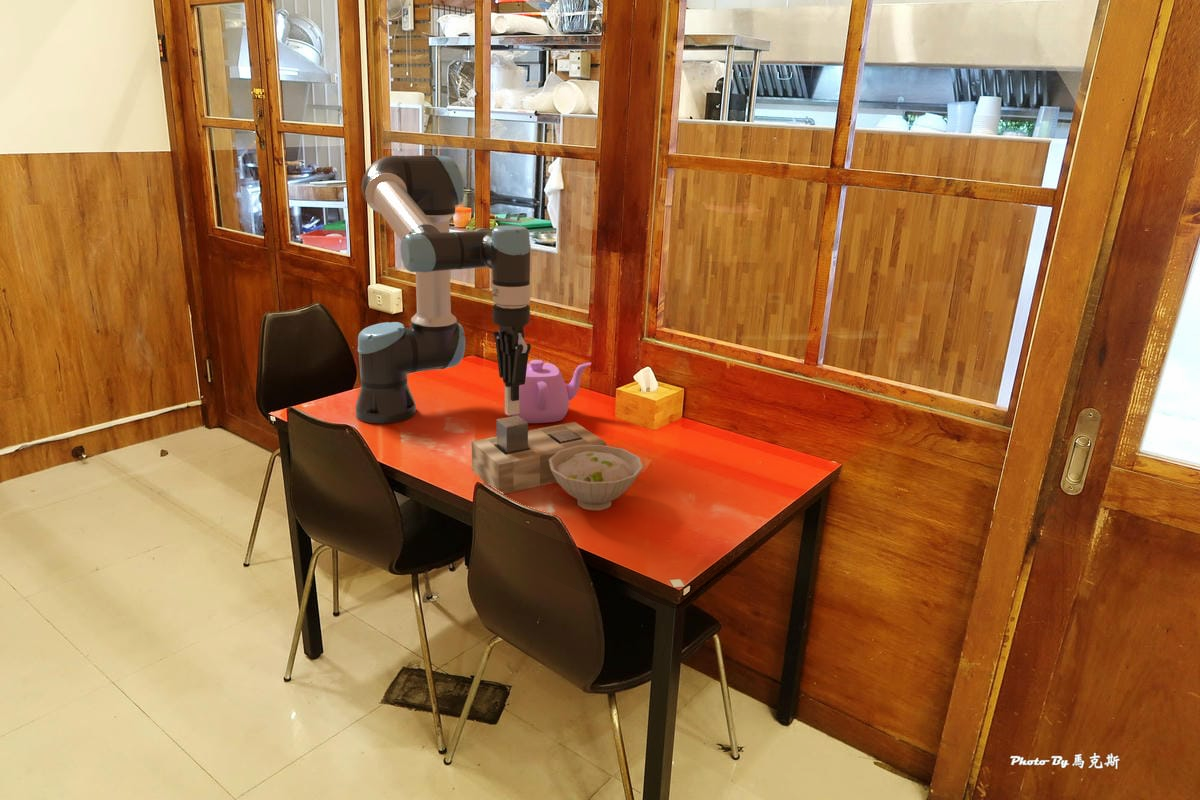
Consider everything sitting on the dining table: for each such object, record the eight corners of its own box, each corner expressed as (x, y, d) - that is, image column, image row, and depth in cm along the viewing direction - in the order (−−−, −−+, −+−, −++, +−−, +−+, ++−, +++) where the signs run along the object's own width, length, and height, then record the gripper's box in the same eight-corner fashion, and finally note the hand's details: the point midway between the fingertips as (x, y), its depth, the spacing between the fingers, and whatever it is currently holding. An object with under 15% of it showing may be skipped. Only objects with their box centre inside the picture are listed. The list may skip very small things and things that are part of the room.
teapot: (511, 435, 197) (510, 377, 192) (501, 406, 216) (500, 352, 211) (600, 430, 202) (602, 373, 197) (583, 402, 221) (584, 349, 216)
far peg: (549, 460, 181) (549, 433, 179) (568, 456, 184) (569, 430, 182) (560, 468, 177) (560, 441, 175) (579, 464, 180) (580, 437, 178)
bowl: (567, 532, 152) (568, 484, 148) (534, 489, 168) (534, 446, 165) (657, 515, 159) (660, 470, 156) (617, 476, 176) (619, 434, 172)
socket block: (472, 470, 177) (471, 441, 174) (574, 449, 190) (574, 421, 187) (498, 495, 165) (498, 464, 163) (605, 471, 178) (606, 442, 176)
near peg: (496, 447, 173) (496, 419, 171) (517, 443, 175) (517, 415, 173) (506, 455, 169) (506, 426, 167) (527, 451, 171) (527, 423, 169)
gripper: (481, 299, 165) (483, 406, 173) (508, 312, 154) (509, 426, 162) (514, 296, 168) (514, 401, 176) (542, 309, 158) (542, 420, 166)
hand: (512, 413), depth 169 cm, fingers closed
